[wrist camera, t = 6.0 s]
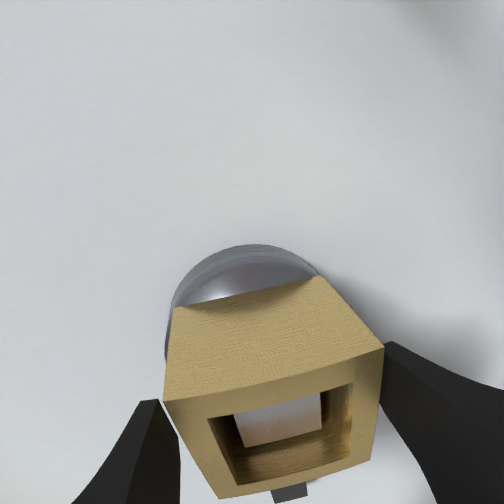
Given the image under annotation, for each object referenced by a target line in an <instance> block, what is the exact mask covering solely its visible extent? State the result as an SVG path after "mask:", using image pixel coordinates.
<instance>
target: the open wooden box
mask: <svg viewBox="0 0 504 504" xmlns="http://www.w3.org/2000/svg"><path fill="white" fill-rule="evenodd" d="M384 348H385V347H384V346H383V344H382V343H381V342H380V341H379V340H378V339H377V337H376V336H375V335H374V334H373V333H372V332H371V330H370V329H369V328H368V327H367V326H366V325H365V324H364V322H363V321H362V320H361V319H360V318H359V317H358V316H357V314H356V313H355V312H354V311H353V310H352V309H351V308H350V306H349V305H348V304H347V303H346V302H345V301H344V300H343V299H342V297H341V296H340V295H339V294H338V293H337V292H336V291H335V290H334V288H333V287H332V286H331V285H330V284H329V283H328V282H327V281H326V280H325V278H324V277H323V276H322V275H319V276H315V277H311V278H307V279H303V280H299V281H294V282H290V283H286V284H282V285H277V286H273V287H269V288H264V289H260V290H255V291H251V292H246V293H242V294H237V295H233V296H228V297H224V298H219V299H214V300H210V301H205V302H200V303H195V304H191V305H186V306H181V307H176V308H173V314H172V322H171V329H170V337H169V346H168V354H167V363H166V372H165V382H164V392H163V403H164V405H165V407H166V409H167V411H168V413H169V415H170V417H171V419H172V421H173V423H174V425H175V426H176V428H177V430H178V432H179V434H180V436H181V438H182V439H183V441H184V443H185V445H186V447H187V448H188V450H189V452H190V454H191V455H192V457H193V459H194V460H195V462H196V464H197V466H198V467H199V469H200V470H201V472H202V474H203V475H204V477H205V479H206V480H207V482H208V483H209V485H210V487H211V488H212V490H213V491H214V493H215V494H216V496H217V497H218V499H225V498H231V497H238V496H244V495H249V494H255V493H260V492H265V491H269V490H274V489H278V488H282V487H287V486H291V485H295V484H298V483H302V482H306V481H309V480H313V479H316V478H320V477H323V476H326V475H329V474H332V473H336V472H339V471H341V470H344V469H347V468H350V467H353V466H356V465H358V464H361V463H364V462H366V461H369V460H370V456H371V451H372V445H373V439H374V433H375V427H376V421H377V414H378V406H379V399H380V390H381V381H382V372H383V361H384ZM316 393H320V406H321V426H322V428H321V429H318V430H315V431H311V432H308V433H304V434H301V435H297V436H293V437H289V438H285V439H281V440H277V441H273V442H269V443H264V444H260V445H255V446H250V447H244V444H243V441H242V438H241V435H240V432H239V430H238V427H237V424H236V421H235V418H234V415H233V414H235V413H240V412H245V411H249V410H254V409H259V408H263V407H267V406H271V405H275V404H279V403H283V402H287V401H291V400H295V399H299V398H302V397H306V396H309V395H313V394H316Z"/></svg>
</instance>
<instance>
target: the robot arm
mask: <svg viewBox="0 0 504 504" xmlns="http://www.w3.org/2000/svg"><path fill="white" fill-rule="evenodd" d="M383 346H384V347H385V348H384V361H383V372H382V381H381V390H380V399H379V403H380V405H381V407H382V409H383V411H384V413H385V414H386V416H387V417H388V419H389V420H390V422H391V423H392V425H393V426H394V427H395V429H396V430H397V432H398V433H399V435H400V436H401V438H402V439H403V441H404V442H405V444H406V445H407V447H408V448H409V449H410V451H411V452H412V454H413V455H414V457H415V459H416V460H417V462H418V464H419V465H420V467H421V469H422V471H423V473H424V475H425V477H426V479H427V481H428V484H429V486H430V488H431V490H432V493H433V495H434V497H435V499H436V502H437V504H504V390H501V389H497V388H494V387H491V386H487V385H484V384H481V383H478V382H475V381H473V380H470V379H468V378H465V377H463V376H460V375H458V374H456V373H453V372H451V371H449V370H447V369H445V368H443V367H441V366H439V365H437V364H435V363H433V362H431V361H429V360H427V359H425V358H423V357H421V356H419V355H417V354H415V353H414V352H412V351H410V350H408V349H406V348H404V347H402V346H400V345H398V344H397V343H395V342H392V341H391V342H388V343H385V344H383ZM180 469H181V462H180V451H179V441H178V436H177V434H176V432H175V430H174V429H173V427H172V425H171V423H170V421H169V419H168V417H167V415H166V414H165V412H164V410H163V408H162V406H161V404H160V402H159V400H158V399H153V400H145V401H140V403H139V404H138V406H137V408H136V409H135V411H134V413H133V415H132V416H131V418H130V420H129V422H128V424H127V425H126V427H125V429H124V431H123V432H122V434H121V436H120V437H119V439H118V441H117V442H116V444H115V446H114V447H113V449H112V451H111V452H110V454H109V456H108V457H107V459H106V460H105V461H104V463H103V464H102V466H101V467H100V469H99V470H98V472H97V473H96V475H95V476H94V477H93V479H92V480H91V481H90V483H89V484H88V485H87V486H86V488H85V489H84V490H83V491H82V493H81V494H80V495H79V496H78V497H77V498H76V499H75V500H74V501H73V502H72V503H71V504H180Z"/></svg>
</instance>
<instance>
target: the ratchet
mask: <svg viewBox="0 0 504 504" xmlns="http://www.w3.org/2000/svg"><path fill="white" fill-rule="evenodd" d="M315 276H319V275H318V274H317V272H316V271H315V270H314V269H313V268H312V267H311V266H310V265H309V264H308V263H307V262H306V261H304V260H303V259H302V258H300V257H299V256H297V255H295V254H294V253H292V252H289V251H287V250H284V249H282V248H278V247H274V246H270V245H260V244H253V245H241V246H235V247H232V248H228V249H224V250H222V251H220V252H217V253H215V254H213V255H211V256H209V257H208V258H206V259H204V260H203V261H201V262H200V263H199V264H197V265H196V266H195V267H194V268H193V269H192V270H191V271H190V272H189V273H188V274H187V275H186V276H185V277H184V279H183V280H182V281H181V283H180V284H179V286H178V288H177V290H176V292H175V294H174V297H173V300H172V303H171V308H170V313H169V319H168V326H167V333H166V339H165V360H166V363H167V354H168V346H169V337H170V329H171V322H172V314H173V308H176V307H181V306H186V305H191V304H195V303H200V302H205V301H210V300H214V299H219V298H224V297H228V296H233V295H237V294H242V293H246V292H251V291H255V290H260V289H264V288H269V287H273V286H277V285H282V284H286V283H290V282H294V281H299V280H303V279H307V278H311V277H315ZM233 415H234V418H235V421H236V424H237V427H238V430H239V432H240V435H241V438H242V441H243V444H244V447H250V446H255V445H260V444H264V443H269V442H273V441H277V440H281V439H285V438H289V437H293V436H297V435H301V434H304V433H308V432H311V431H315V430H318V429H321V428H322V426H321V406H320V393H316V394H313V395H309V396H306V397H302V398H299V399H295V400H291V401H287V402H283V403H279V404H275V405H271V406H267V407H263V408H259V409H254V410H249V411H245V412H240V413H235V414H233ZM270 491H271V494H272V497H273V500H274V503H275V504H276V503H281V502H285V501H289V500H293V499H297V498H301V497H305V496H308V495H307V486H306V482H302V483H298V484H295V485H291V486H287V487H282V488H278V489H274V490H270Z"/></svg>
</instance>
